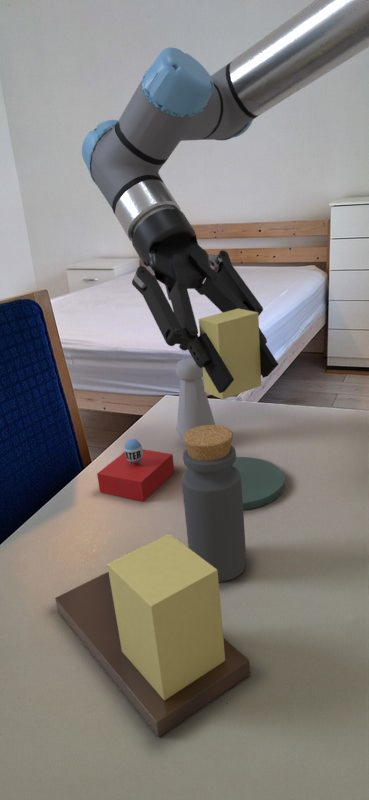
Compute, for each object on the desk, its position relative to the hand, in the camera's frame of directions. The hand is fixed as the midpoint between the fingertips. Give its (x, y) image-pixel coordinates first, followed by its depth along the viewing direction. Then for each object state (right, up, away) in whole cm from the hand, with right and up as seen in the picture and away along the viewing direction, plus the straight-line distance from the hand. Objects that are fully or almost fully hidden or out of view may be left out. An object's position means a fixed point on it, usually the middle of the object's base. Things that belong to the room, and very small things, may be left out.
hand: (249, 378), depth 69 cm
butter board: (-11, -24, -15) cm, 30 cm away
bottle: (-4, -20, -6) cm, 21 cm away
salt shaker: (-5, -9, +21) cm, 24 cm away
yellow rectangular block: (-2, -1, +3) cm, 4 cm away
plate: (-1, -13, +9) cm, 16 cm away
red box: (-14, -14, +12) cm, 23 cm away
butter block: (-8, -24, -19) cm, 32 cm away
